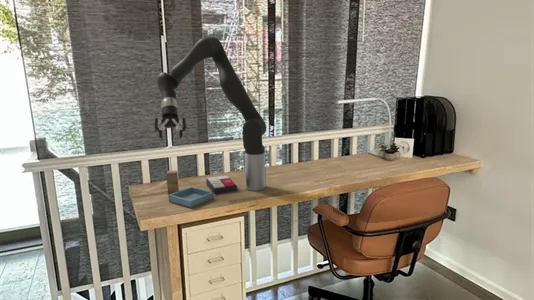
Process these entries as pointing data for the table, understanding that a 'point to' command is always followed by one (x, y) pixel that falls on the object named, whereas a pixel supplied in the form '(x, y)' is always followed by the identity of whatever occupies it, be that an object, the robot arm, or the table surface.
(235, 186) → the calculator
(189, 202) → the tray
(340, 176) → the table surface
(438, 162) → the table surface
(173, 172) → the walnut block
